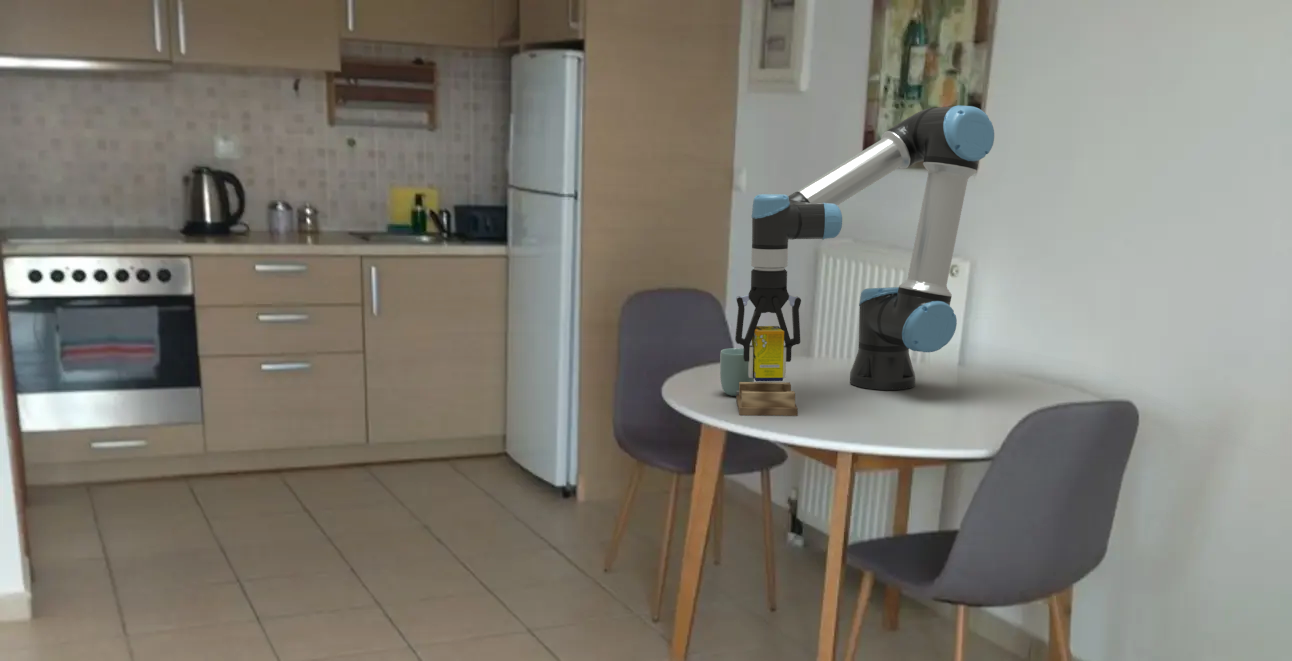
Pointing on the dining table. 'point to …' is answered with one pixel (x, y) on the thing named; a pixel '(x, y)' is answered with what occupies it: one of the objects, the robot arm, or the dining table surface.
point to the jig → (766, 399)
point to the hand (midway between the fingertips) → (766, 376)
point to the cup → (733, 370)
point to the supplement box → (768, 353)
